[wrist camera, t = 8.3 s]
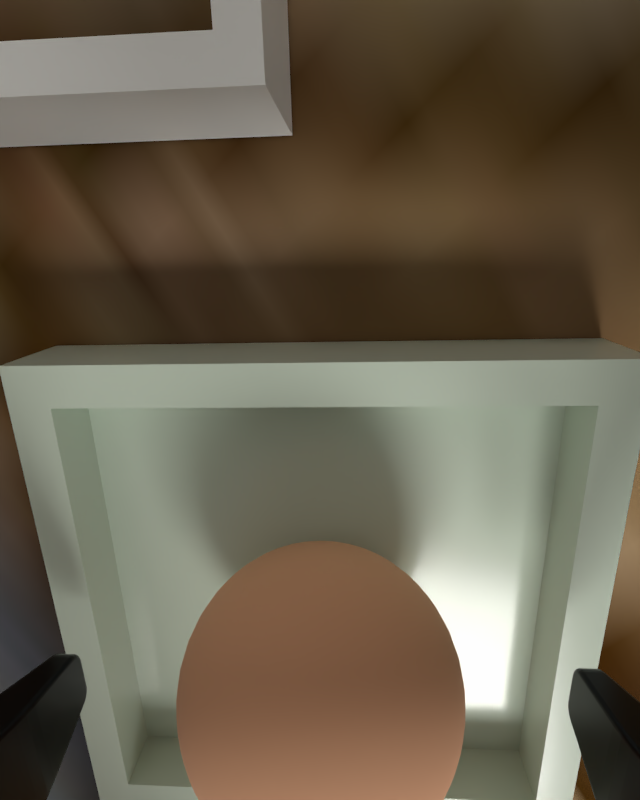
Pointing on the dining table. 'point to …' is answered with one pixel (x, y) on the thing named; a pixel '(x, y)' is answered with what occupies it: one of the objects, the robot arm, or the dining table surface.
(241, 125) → the open rectangular frame
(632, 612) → the dining table surface
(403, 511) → the dish
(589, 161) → the dining table surface
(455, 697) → the ball
